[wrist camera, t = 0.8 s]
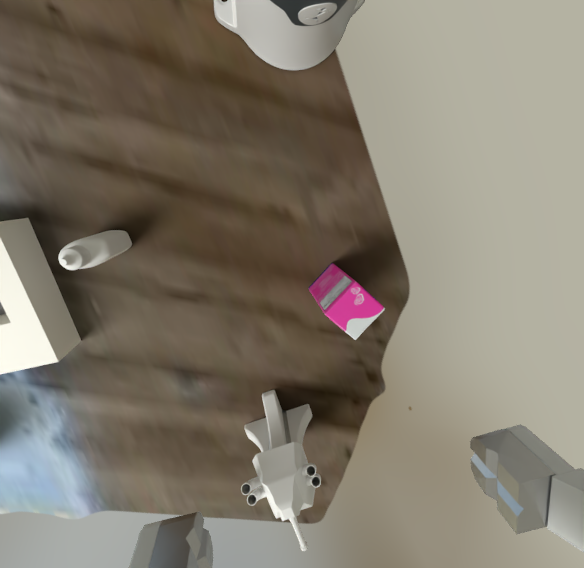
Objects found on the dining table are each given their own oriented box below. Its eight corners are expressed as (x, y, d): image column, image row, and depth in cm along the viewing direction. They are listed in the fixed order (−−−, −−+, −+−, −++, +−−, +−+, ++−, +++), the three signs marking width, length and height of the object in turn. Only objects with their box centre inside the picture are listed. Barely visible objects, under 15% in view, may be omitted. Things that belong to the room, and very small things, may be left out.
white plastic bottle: (130, 262, 45) (90, 287, 34) (88, 253, 44) (31, 276, 33) (134, 232, 44) (94, 248, 33) (91, 222, 43) (33, 235, 32)
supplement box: (357, 283, 51) (387, 310, 40) (332, 310, 51) (354, 343, 40) (332, 260, 49) (356, 281, 38) (306, 288, 50) (322, 316, 39)
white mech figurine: (258, 459, 58) (262, 572, 41) (234, 402, 54) (227, 501, 37) (320, 438, 59) (349, 542, 42) (301, 380, 54) (324, 468, 37)
